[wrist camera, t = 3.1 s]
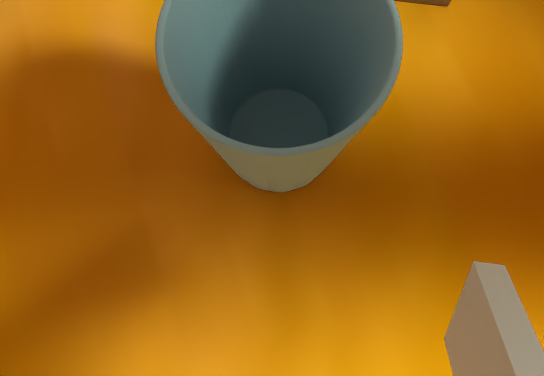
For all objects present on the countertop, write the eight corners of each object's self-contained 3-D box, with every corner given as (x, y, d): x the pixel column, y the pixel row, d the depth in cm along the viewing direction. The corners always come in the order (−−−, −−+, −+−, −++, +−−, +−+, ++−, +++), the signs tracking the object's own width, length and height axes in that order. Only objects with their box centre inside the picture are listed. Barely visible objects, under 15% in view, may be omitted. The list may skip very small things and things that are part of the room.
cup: (311, 243, 25) (333, 200, 15) (175, 171, 26) (107, 83, 15) (379, 113, 26) (443, -9, 16) (248, 48, 27) (230, -105, 17)
